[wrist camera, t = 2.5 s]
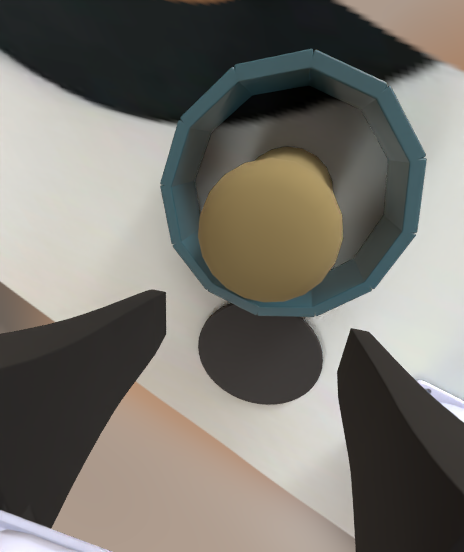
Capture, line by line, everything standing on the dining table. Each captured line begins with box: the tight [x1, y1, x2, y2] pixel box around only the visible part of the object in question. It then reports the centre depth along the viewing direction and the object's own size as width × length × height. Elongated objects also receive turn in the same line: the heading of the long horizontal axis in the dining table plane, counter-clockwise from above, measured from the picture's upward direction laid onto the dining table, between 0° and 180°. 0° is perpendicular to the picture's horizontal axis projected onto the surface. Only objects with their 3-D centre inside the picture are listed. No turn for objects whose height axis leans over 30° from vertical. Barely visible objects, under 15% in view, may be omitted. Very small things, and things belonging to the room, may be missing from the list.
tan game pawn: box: [198, 146, 343, 302], centre depth 14 cm, size 6×6×11 cm
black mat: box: [198, 303, 323, 405], centre depth 24 cm, size 10×10×1 cm
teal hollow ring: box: [160, 49, 427, 317], centre depth 17 cm, size 13×13×4 cm
